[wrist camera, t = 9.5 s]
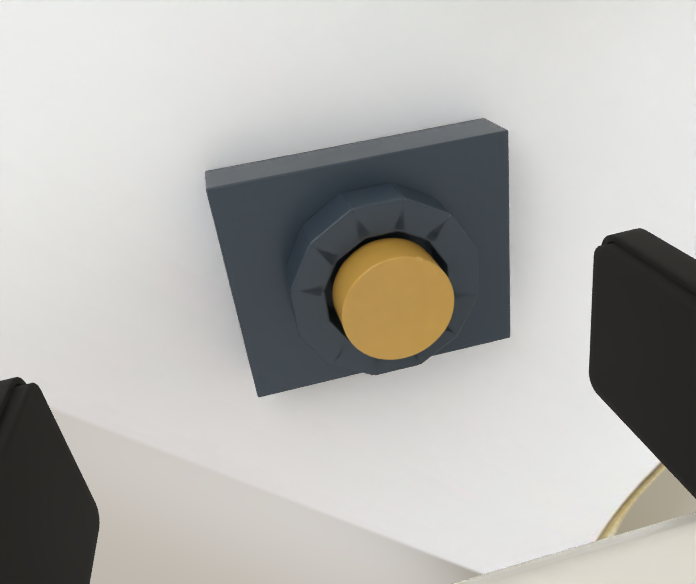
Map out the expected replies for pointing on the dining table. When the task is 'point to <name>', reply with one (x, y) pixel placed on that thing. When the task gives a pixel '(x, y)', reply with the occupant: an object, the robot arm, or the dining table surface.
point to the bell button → (392, 298)
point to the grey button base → (362, 243)
